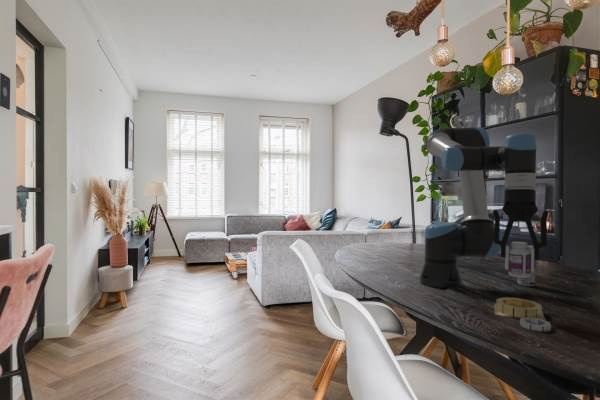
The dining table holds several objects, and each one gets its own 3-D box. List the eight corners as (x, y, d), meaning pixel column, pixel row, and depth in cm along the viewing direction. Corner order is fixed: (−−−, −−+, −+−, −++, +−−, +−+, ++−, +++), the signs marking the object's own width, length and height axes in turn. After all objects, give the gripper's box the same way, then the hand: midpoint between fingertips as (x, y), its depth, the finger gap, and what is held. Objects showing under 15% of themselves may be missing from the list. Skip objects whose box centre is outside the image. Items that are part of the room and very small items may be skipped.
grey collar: (521, 331, 89) (521, 323, 89) (519, 323, 95) (519, 315, 95) (552, 336, 86) (552, 328, 86) (548, 327, 92) (548, 320, 92)
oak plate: (494, 317, 100) (494, 314, 100) (494, 306, 109) (494, 303, 109) (546, 324, 94) (546, 321, 94) (540, 312, 104) (541, 309, 104)
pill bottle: (522, 273, 104) (522, 241, 104) (534, 278, 98) (535, 243, 98) (504, 274, 104) (504, 241, 104) (515, 278, 98) (516, 243, 98)
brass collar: (496, 314, 99) (496, 305, 99) (496, 303, 109) (496, 295, 109) (544, 321, 94) (544, 311, 94) (538, 309, 104) (539, 300, 104)
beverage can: (537, 287, 131) (538, 247, 131) (521, 286, 132) (521, 246, 132) (531, 283, 137) (531, 244, 136) (515, 282, 138) (515, 244, 137)
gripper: (483, 188, 102) (482, 269, 102) (562, 188, 93) (561, 275, 93) (483, 189, 108) (483, 264, 109) (557, 188, 100) (556, 270, 100)
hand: (519, 269), depth 101 cm, fingers closed on pill bottle, 5 cm apart
